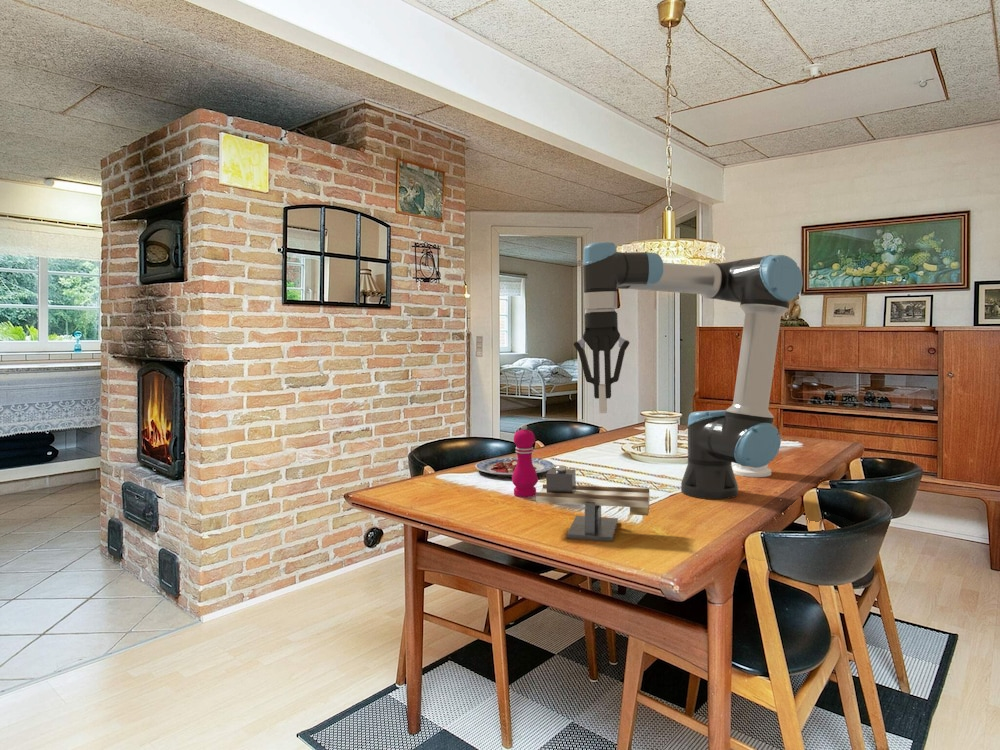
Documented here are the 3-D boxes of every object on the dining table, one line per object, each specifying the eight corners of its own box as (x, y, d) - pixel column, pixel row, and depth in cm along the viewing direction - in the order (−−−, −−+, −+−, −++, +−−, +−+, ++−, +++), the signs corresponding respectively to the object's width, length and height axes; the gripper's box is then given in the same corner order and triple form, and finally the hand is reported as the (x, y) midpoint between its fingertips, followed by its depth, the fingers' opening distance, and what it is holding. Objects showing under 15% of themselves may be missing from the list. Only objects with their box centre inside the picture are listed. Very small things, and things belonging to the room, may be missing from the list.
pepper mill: (535, 498, 174) (535, 426, 173) (510, 497, 176) (508, 426, 174) (539, 491, 181) (538, 422, 180) (514, 490, 183) (513, 422, 181)
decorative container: (764, 479, 192) (765, 420, 191) (726, 473, 199) (726, 417, 198) (776, 472, 201) (777, 415, 199) (739, 467, 208) (740, 412, 207)
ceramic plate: (460, 470, 212) (460, 461, 211) (522, 460, 226) (522, 451, 226) (504, 485, 190) (504, 475, 190) (570, 473, 205) (570, 463, 205)
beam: (649, 506, 147) (649, 488, 146) (648, 516, 139) (647, 497, 139) (543, 501, 153) (543, 484, 153) (536, 511, 146) (536, 492, 145)
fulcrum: (617, 522, 152) (617, 489, 151) (612, 541, 139) (612, 505, 138) (576, 519, 155) (576, 487, 154) (566, 538, 141) (566, 503, 141)
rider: (575, 490, 150) (575, 464, 149) (572, 496, 145) (572, 469, 144) (550, 489, 151) (550, 463, 151) (546, 494, 146) (546, 468, 146)
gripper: (630, 310, 148) (632, 410, 150) (574, 312, 151) (577, 410, 153) (628, 309, 141) (630, 414, 143) (570, 312, 144) (573, 414, 146)
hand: (603, 412), depth 148 cm, fingers closed
